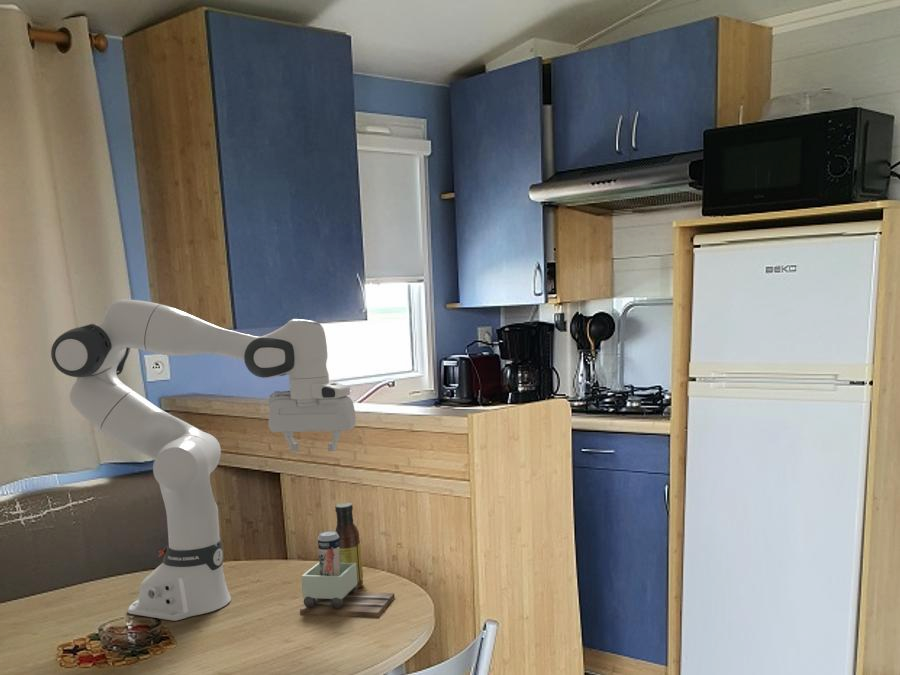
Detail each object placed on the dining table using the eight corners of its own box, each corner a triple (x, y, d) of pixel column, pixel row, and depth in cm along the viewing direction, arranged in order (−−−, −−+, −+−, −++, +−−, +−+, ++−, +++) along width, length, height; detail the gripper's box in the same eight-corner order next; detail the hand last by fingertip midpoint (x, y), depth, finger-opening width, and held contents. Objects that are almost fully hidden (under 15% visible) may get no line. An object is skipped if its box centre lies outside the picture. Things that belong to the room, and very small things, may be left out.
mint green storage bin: (303, 607, 161) (301, 576, 161) (320, 591, 170) (318, 561, 170) (342, 608, 159) (340, 577, 159) (358, 592, 168) (356, 562, 168)
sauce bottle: (350, 580, 180) (345, 499, 180) (369, 584, 176) (364, 502, 176) (330, 589, 175) (325, 505, 174) (349, 593, 171) (344, 508, 171)
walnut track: (300, 613, 161) (299, 607, 161) (320, 594, 171) (320, 588, 171) (378, 617, 156) (377, 610, 156) (394, 597, 167) (394, 591, 167)
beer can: (316, 587, 165) (312, 534, 165) (333, 581, 168) (330, 529, 168) (329, 592, 162) (326, 537, 161) (346, 585, 165) (343, 532, 165)
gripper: (261, 393, 167) (265, 453, 167) (346, 389, 162) (349, 452, 162) (274, 390, 173) (278, 448, 173) (356, 387, 168) (360, 447, 169)
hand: (313, 450), depth 168 cm, fingers open, 8 cm apart
